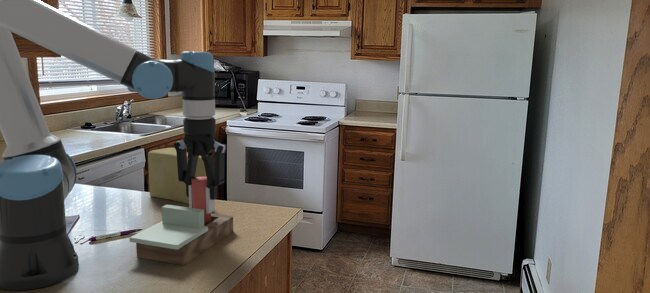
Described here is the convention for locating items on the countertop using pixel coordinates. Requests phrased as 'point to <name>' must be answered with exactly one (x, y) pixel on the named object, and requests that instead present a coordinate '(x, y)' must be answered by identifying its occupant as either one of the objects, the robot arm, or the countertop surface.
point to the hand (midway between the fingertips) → (202, 210)
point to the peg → (200, 196)
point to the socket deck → (190, 243)
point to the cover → (173, 228)
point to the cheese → (169, 175)
